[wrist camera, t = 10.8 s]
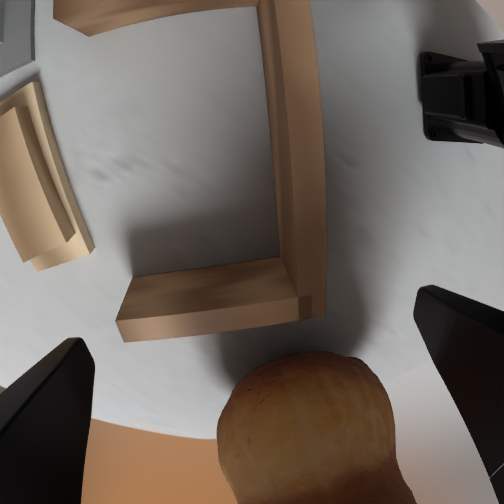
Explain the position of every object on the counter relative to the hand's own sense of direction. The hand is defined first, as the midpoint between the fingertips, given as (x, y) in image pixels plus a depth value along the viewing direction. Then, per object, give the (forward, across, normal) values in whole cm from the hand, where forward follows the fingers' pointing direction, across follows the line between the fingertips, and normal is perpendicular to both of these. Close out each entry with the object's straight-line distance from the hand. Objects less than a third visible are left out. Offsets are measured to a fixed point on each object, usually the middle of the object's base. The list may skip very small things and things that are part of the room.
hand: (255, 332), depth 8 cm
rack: (+13, +1, -4) cm, 14 cm away
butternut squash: (+13, -3, +17) cm, 22 cm away
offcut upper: (+12, +13, -4) cm, 18 cm away
